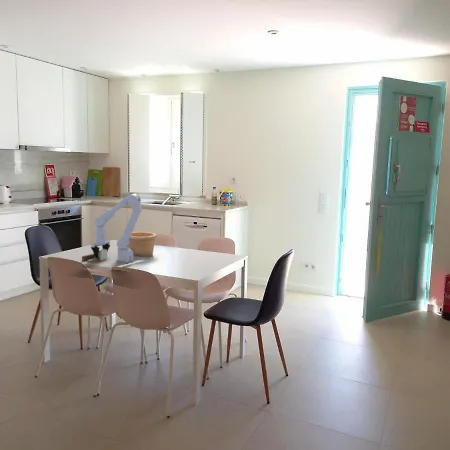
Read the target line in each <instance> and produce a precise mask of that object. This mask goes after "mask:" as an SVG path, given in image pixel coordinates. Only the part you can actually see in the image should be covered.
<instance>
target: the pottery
mask: <svg viewBox="0 0 450 450" xmlns="http://www.w3.org/2000/svg"><path fill="white" fill-rule="evenodd" d="M157 237H158V234H157V233H154V232H149V231H133V232H132V234H131V238H130V244H129V245H128V246H129V249H130V250H132V251H133V257H140V258H149V257H152V256H153V255H154V248H155V241H156V238H157Z"/></svg>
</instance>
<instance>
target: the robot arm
mask: <svg viewBox="0 0 450 450" xmlns="http://www.w3.org/2000/svg"><path fill="white" fill-rule="evenodd" d="M124 206H130V208H131V210H132V213H131V214H130V217H129V218H128V221H127V224H126V226H125V229H124V231H123V233H122V235H121V236H120V238H119V239H118V240H117V241H116V247H117V261H119V262H124V265H128V264H129V265H130V264H132V263H134V262H135V261H134V256H133V251H132V250H130V249H129V246H128V245H129V244H130V238H131V234H132V232H134V229H135V227H136V225H137V223H138V220H139V218H140V215H141V213H142V211H143V208H142V199H141V197H140V196H139V195H138V194H137V193H132V194H129V195H127V196H126V197H124V198H122V199H121V200H120V201H119V202H117V204H115V206H113V207H112V208H107V209H105V210H104V212H103V213H101V214H99V216H97V217H96V218H95V219H94V225H95V242H94V243H91V244H90V249H91V250H92V252H93V253H92V254H94V256H95V258H98V252H99V249H106V250H107V253H108V251H109V249H110V247H111V241H110V240H106V225H107V223H108V222H109V221H110V220H112V218H114V217H115V216H116V213H117V212H118V211H119V210H121V209H122V208H123V207H124ZM100 246H101V247H102V248H100Z"/></svg>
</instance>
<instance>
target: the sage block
mask: <svg viewBox="0 0 450 450" xmlns="http://www.w3.org/2000/svg"><path fill="white" fill-rule="evenodd" d="M94 258H95V256H94ZM98 259H100V260H105V259H108V252H107V250H106V249H103V248H100V249H99V252H98ZM105 261H106V260H105Z"/></svg>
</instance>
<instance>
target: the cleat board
mask: <svg viewBox="0 0 450 450" xmlns="http://www.w3.org/2000/svg"><path fill="white" fill-rule="evenodd" d="M108 260H110V258H107V259H105V260H100V259H98V258H94V253H90V254H86V255H82V256H81V261H82V262H85V263H90V264H96V263H100V262H105V261H108Z"/></svg>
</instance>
